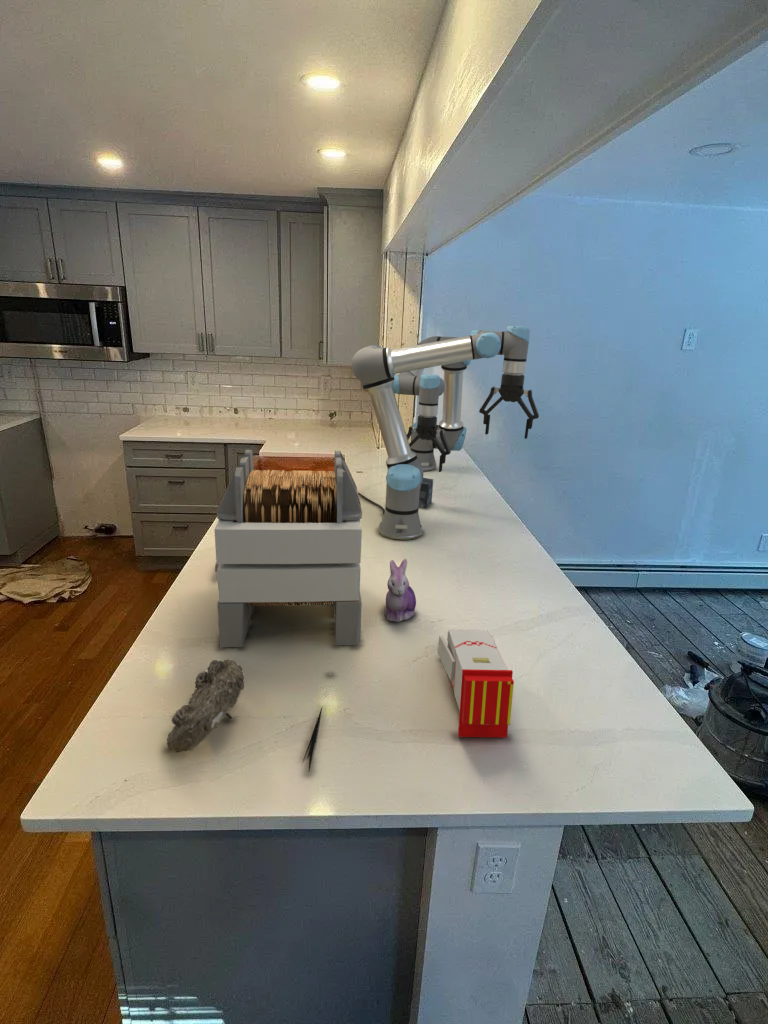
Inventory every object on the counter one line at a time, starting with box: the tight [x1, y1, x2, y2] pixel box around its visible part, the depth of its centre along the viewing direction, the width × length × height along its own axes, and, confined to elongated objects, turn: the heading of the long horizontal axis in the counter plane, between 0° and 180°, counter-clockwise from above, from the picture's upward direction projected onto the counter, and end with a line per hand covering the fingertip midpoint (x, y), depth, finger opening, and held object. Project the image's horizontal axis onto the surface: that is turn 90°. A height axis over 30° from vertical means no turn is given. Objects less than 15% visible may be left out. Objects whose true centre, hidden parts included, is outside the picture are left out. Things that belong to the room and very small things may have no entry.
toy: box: [437, 628, 515, 738], centre depth 117 cm, size 12×13×30 cm
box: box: [418, 477, 434, 510], centre depth 229 cm, size 8×6×11 cm
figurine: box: [384, 558, 417, 623], centre depth 145 cm, size 9×10×15 cm
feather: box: [301, 673, 332, 771], centre depth 108 cm, size 2×28×2 cm
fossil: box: [166, 658, 245, 754], centre depth 106 cm, size 22×10×15 cm
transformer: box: [214, 448, 363, 649], centre depth 139 cm, size 34×33×41 cm
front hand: (506, 435), depth 199 cm, fingers open, 13 cm apart
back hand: (423, 469), depth 225 cm, fingers open, 13 cm apart
